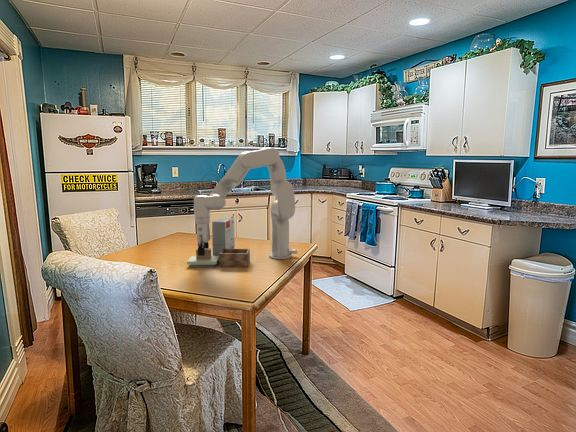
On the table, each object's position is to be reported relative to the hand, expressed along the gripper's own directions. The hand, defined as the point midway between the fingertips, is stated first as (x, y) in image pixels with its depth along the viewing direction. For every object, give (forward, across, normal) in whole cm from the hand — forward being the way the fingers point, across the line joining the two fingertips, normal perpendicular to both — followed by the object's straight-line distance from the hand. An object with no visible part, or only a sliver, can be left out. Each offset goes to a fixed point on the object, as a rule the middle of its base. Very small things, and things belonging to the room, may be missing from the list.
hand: (203, 252), depth 187 cm
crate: (+6, 0, -16) cm, 17 cm away
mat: (+6, 0, 0) cm, 6 cm away
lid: (+4, 0, 0) cm, 5 cm away
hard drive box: (+6, +20, -7) cm, 22 cm away
